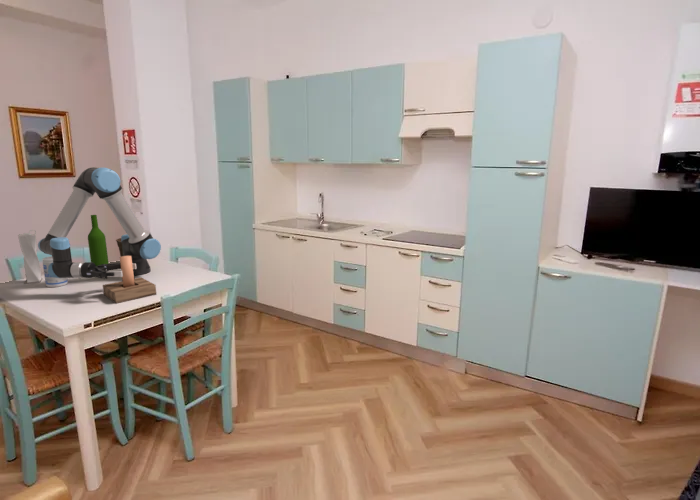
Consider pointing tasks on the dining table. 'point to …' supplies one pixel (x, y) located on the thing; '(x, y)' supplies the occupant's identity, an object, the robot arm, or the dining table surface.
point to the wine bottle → (97, 244)
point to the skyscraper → (30, 257)
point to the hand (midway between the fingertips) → (129, 269)
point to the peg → (127, 271)
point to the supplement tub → (48, 279)
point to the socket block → (129, 290)
